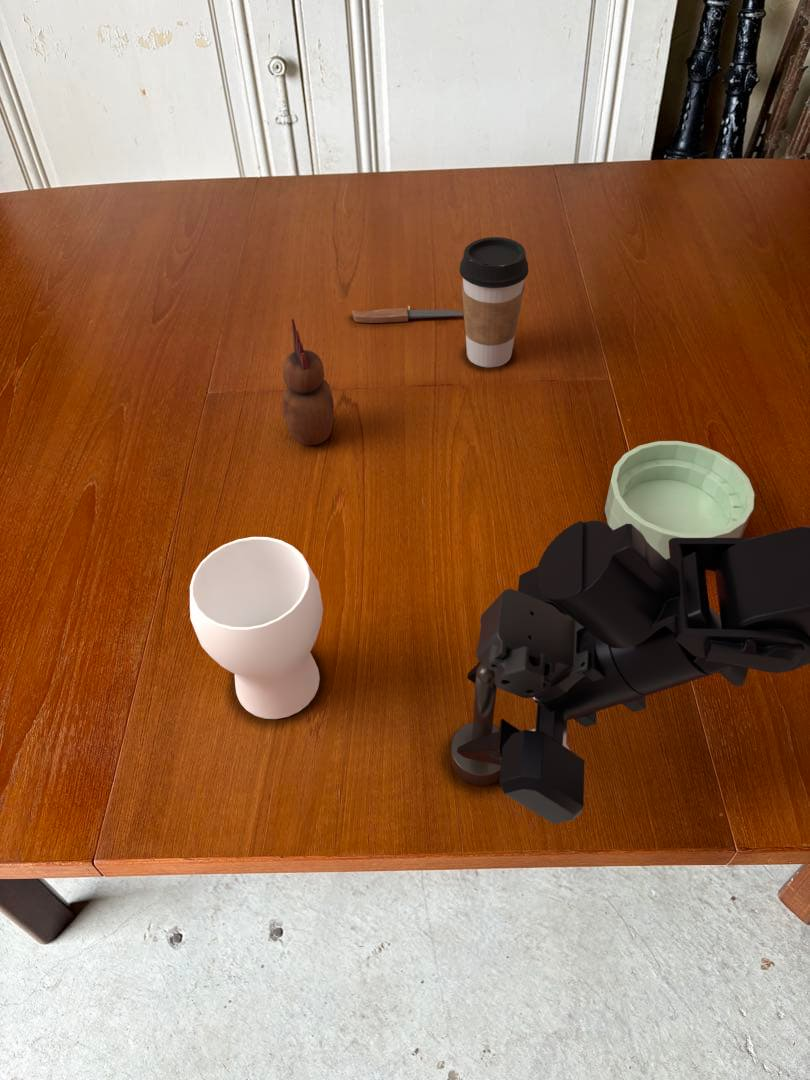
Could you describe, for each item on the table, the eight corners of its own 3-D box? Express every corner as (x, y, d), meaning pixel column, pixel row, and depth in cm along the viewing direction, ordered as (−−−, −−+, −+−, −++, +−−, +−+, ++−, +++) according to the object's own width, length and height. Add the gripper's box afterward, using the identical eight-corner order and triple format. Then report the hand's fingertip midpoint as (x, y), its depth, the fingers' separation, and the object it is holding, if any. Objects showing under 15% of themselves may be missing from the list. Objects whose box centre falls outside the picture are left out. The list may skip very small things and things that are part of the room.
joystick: (518, 776, 69) (533, 686, 58) (462, 793, 68) (467, 705, 57) (496, 725, 72) (506, 631, 61) (442, 741, 71) (443, 649, 60)
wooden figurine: (292, 416, 101) (274, 310, 90) (338, 416, 101) (326, 310, 89) (285, 453, 96) (265, 346, 85) (333, 453, 96) (320, 346, 85)
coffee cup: (448, 365, 107) (449, 260, 96) (469, 331, 112) (473, 227, 101) (510, 379, 105) (518, 273, 93) (528, 343, 110) (538, 238, 98)
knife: (469, 300, 115) (471, 312, 113) (469, 306, 116) (471, 318, 114) (352, 306, 115) (352, 318, 113) (352, 313, 115) (352, 325, 113)
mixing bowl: (767, 550, 84) (783, 517, 80) (644, 585, 82) (654, 552, 78) (695, 462, 93) (706, 428, 90) (582, 491, 91) (588, 457, 87)
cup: (336, 728, 72) (317, 630, 61) (216, 739, 72) (175, 642, 60) (333, 630, 79) (316, 526, 68) (224, 640, 79) (189, 536, 67)
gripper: (562, 489, 57) (412, 571, 67) (549, 723, 45) (368, 782, 55) (654, 572, 62) (502, 637, 72) (665, 803, 50) (479, 845, 60)
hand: (466, 714), depth 65 cm, fingers open, 6 cm apart
